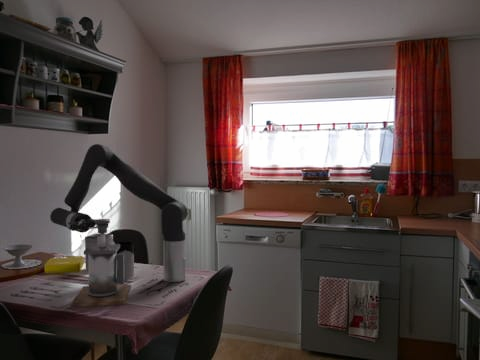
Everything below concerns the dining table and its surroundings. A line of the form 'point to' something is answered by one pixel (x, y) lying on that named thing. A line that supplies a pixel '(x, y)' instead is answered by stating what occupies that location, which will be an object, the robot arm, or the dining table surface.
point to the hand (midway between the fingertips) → (96, 226)
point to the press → (104, 270)
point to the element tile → (64, 265)
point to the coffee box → (89, 241)
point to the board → (116, 299)
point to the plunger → (102, 230)
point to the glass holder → (126, 260)
